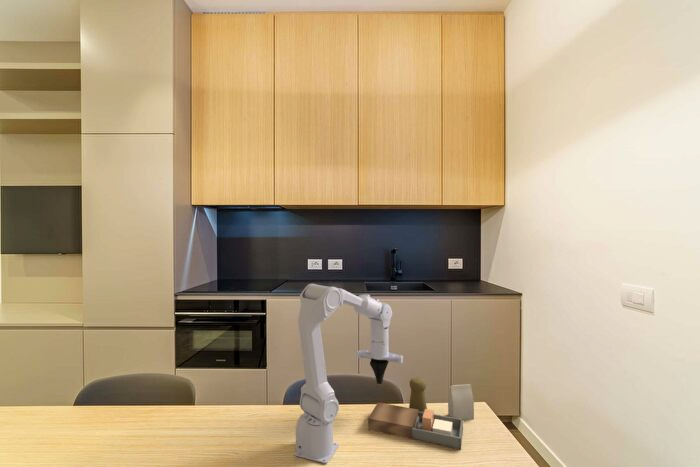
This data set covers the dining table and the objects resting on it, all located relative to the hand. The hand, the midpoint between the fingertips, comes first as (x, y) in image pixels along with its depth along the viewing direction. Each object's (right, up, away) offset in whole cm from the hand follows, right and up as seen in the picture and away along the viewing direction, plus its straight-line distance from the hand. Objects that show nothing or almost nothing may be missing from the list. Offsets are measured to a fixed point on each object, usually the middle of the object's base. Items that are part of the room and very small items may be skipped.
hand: (379, 382), depth 108 cm
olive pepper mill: (+12, -11, +1) cm, 16 cm away
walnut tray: (+4, -10, -6) cm, 12 cm away
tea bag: (+25, -10, -1) cm, 27 cm away
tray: (+16, -10, -11) cm, 22 cm away
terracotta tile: (+12, -7, -9) cm, 17 cm away
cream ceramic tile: (+17, -7, -11) cm, 21 cm away
